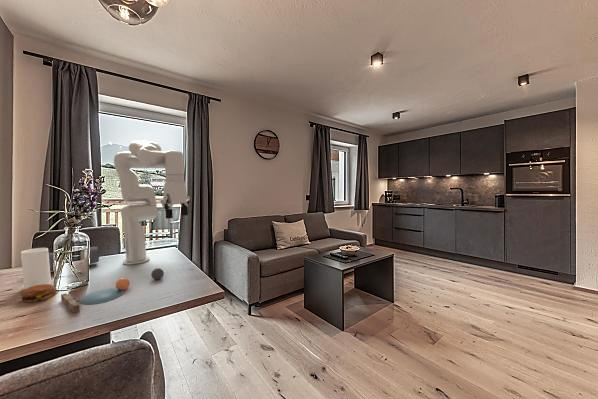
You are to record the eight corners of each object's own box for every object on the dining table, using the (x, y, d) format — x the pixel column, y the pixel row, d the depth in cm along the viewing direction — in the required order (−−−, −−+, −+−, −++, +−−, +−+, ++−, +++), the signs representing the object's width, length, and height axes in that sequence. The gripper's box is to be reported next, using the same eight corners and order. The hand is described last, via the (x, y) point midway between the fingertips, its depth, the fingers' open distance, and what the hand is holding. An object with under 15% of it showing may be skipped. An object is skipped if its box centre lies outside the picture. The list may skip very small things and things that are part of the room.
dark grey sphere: (149, 279, 120) (148, 269, 120) (160, 276, 124) (160, 265, 124) (154, 282, 117) (154, 271, 117) (166, 278, 121) (165, 268, 121)
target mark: (74, 297, 102) (74, 297, 102) (116, 285, 113) (116, 285, 113) (86, 308, 94) (86, 307, 94) (130, 294, 105) (130, 293, 105)
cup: (37, 290, 109) (34, 252, 108) (18, 290, 109) (14, 252, 108) (56, 283, 117) (53, 247, 116) (38, 283, 118) (35, 247, 116)
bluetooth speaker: (97, 262, 147) (95, 244, 147) (99, 265, 141) (98, 247, 140) (40, 272, 132) (38, 252, 131) (40, 277, 125) (38, 256, 124)
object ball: (113, 290, 109) (113, 278, 108) (127, 286, 113) (126, 274, 112) (118, 293, 106) (117, 281, 105) (132, 289, 110) (131, 277, 109)
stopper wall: (61, 300, 100) (60, 294, 100) (66, 299, 101) (66, 293, 101) (74, 313, 90) (73, 306, 90) (79, 311, 91) (79, 304, 91)
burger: (43, 292, 108) (42, 280, 108) (62, 293, 107) (61, 282, 107) (13, 303, 99) (12, 291, 98) (34, 305, 97) (33, 292, 97)
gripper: (181, 179, 128) (183, 214, 129) (152, 179, 111) (155, 219, 112) (194, 178, 126) (196, 214, 127) (167, 178, 109) (170, 219, 110)
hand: (177, 216), depth 120 cm, fingers open, 9 cm apart
